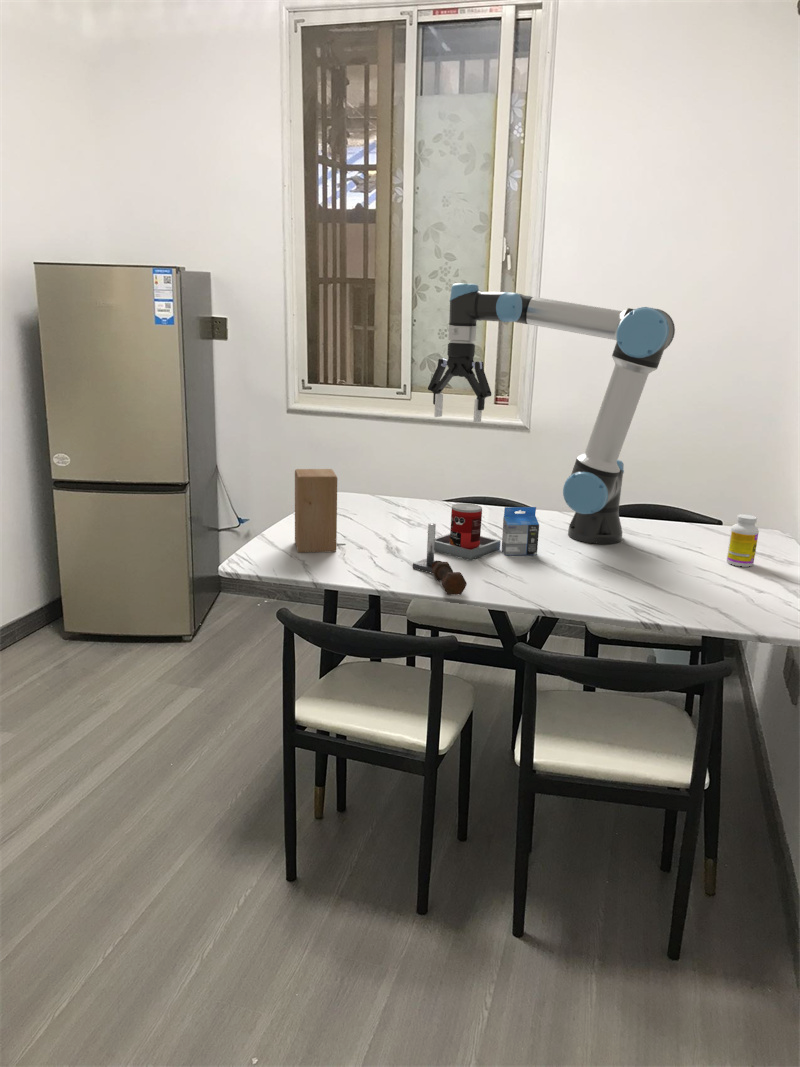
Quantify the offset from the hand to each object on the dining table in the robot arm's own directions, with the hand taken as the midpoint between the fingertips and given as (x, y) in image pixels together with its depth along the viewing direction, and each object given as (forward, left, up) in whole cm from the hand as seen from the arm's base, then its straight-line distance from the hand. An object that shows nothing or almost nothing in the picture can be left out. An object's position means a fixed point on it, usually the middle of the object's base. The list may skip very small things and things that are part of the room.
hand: (457, 419), depth 224 cm
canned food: (-16, +16, -31) cm, 38 cm away
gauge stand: (-19, +35, -32) cm, 51 cm away
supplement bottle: (-74, -27, -32) cm, 85 cm away
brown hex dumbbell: (-29, +42, -32) cm, 60 cm away
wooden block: (+13, +43, -32) cm, 55 cm away
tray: (-16, +16, -32) cm, 39 cm away
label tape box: (-28, +8, -32) cm, 43 cm away
